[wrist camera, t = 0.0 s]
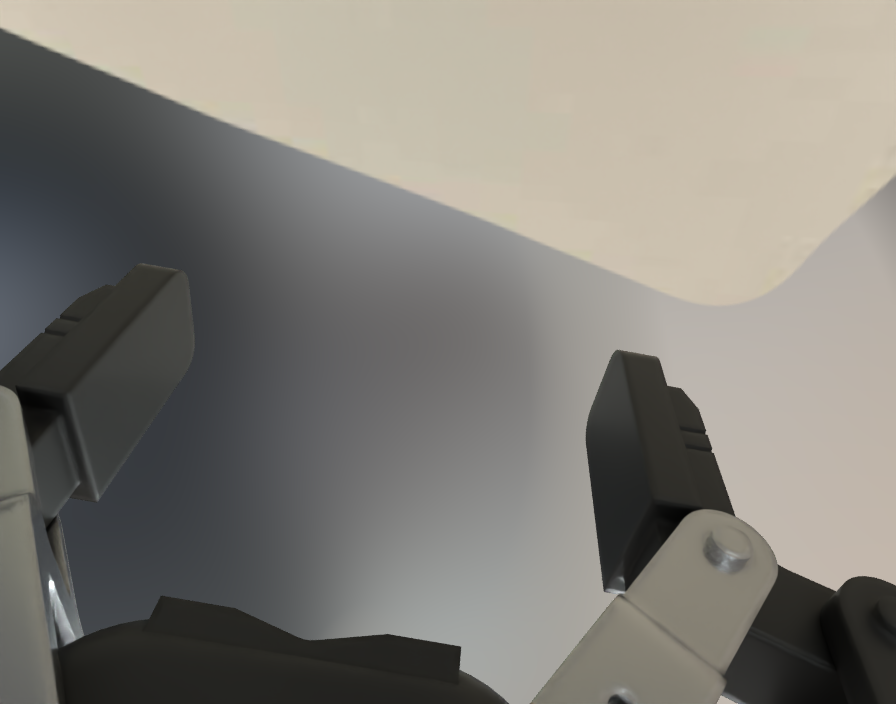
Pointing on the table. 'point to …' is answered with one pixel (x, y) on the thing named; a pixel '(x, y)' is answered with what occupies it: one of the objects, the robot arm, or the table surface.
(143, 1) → the table surface
